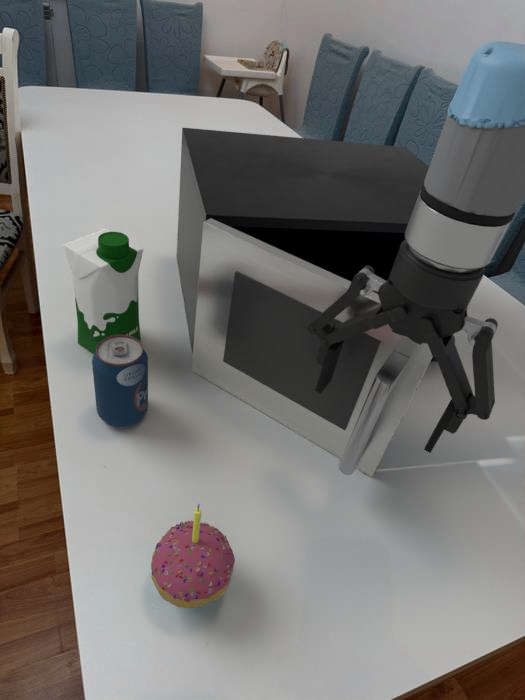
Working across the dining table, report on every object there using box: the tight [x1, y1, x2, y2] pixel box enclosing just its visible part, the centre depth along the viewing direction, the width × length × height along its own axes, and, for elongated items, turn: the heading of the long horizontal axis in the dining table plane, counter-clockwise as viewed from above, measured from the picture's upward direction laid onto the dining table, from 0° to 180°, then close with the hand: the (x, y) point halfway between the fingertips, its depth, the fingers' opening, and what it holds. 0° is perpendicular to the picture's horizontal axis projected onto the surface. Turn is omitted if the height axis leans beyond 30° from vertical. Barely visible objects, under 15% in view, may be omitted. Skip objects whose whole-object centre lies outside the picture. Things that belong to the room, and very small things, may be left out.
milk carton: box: [62, 228, 144, 355], centre depth 74 cm, size 9×9×20 cm
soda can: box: [91, 335, 149, 429], centre depth 66 cm, size 7×7×12 cm
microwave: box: [176, 127, 488, 363], centre depth 88 cm, size 35×44×26 cm
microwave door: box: [191, 218, 433, 478], centre depth 63 cm, size 8×32×26 cm, turn 57°
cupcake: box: [150, 503, 236, 609], centre depth 50 cm, size 9×8×12 cm
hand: (374, 414), depth 57 cm, fingers open, 13 cm apart
